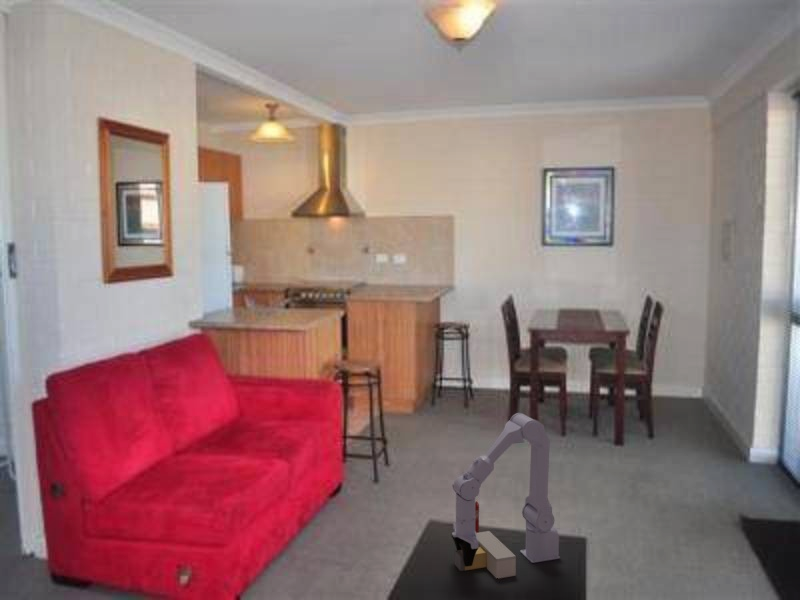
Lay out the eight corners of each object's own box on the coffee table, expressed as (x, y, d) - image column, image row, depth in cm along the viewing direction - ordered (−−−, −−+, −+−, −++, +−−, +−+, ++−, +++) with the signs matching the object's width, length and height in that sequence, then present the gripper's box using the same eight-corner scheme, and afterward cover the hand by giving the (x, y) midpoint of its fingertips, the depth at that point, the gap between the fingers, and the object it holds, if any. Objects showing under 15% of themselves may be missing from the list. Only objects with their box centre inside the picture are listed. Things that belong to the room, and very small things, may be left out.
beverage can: (479, 539, 225) (479, 503, 224) (460, 539, 225) (460, 503, 224) (477, 531, 232) (478, 496, 230) (458, 531, 232) (458, 496, 231)
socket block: (488, 548, 219) (489, 530, 218) (515, 575, 202) (515, 556, 201) (471, 551, 217) (471, 533, 216) (496, 578, 200) (496, 559, 199)
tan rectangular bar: (490, 559, 211) (490, 545, 211) (496, 565, 207) (496, 551, 207) (455, 565, 208) (455, 550, 207) (460, 571, 204) (460, 556, 203)
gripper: (443, 509, 211) (443, 553, 212) (462, 529, 197) (462, 575, 198) (465, 507, 213) (465, 550, 214) (485, 525, 199) (485, 571, 200)
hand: (465, 562), depth 206 cm, fingers closed on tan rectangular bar, 4 cm apart
